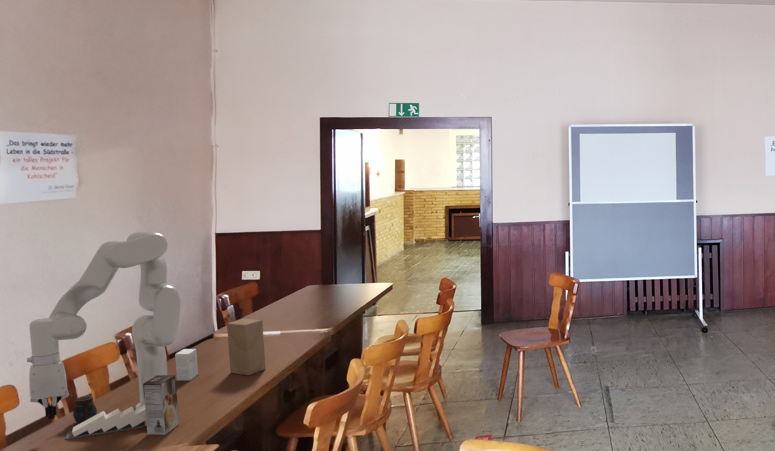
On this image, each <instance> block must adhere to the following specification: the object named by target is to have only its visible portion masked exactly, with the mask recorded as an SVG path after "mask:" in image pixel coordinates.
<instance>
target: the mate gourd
mask: <svg viewBox="0 0 775 451" xmlns="http://www.w3.org/2000/svg"><path fill="white" fill-rule="evenodd" d="M70 396H71V397H72V398H73V399H74V409H73V410H72V411H73V412H72V415H73V419H74V421H75V423H77V424H80V423H82V422H84V421H86V420H88V419H90V418H91V417H93V416H95V415H97V414H98V409H97V406H96V405H95V403H94V396H92V395H83V396H82V395H80V396H79V397H75V396H74V395H72V394H70Z"/></svg>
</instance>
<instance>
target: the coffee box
mask: <svg viewBox="0 0 775 451" xmlns="http://www.w3.org/2000/svg"><path fill="white" fill-rule="evenodd" d="M176 382H177V379H176V375H175V374H171V375H169V374H168V375H157V376H155V377H154V378H152V379H150V380H149V381H147V382H145V383H144V384H143V390H144V401H145V412H146V423H147V426H146V434H147V435H154V436H155V435H157V436H158V435H159V436H160V435H161V436H162V435H163V436H165V435H167V434H169V433H170V432H171V431H173V430H174V428H177V426H179V425H180V418H179V417H180V416H179V406H178V393H177V384H176Z"/></svg>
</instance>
